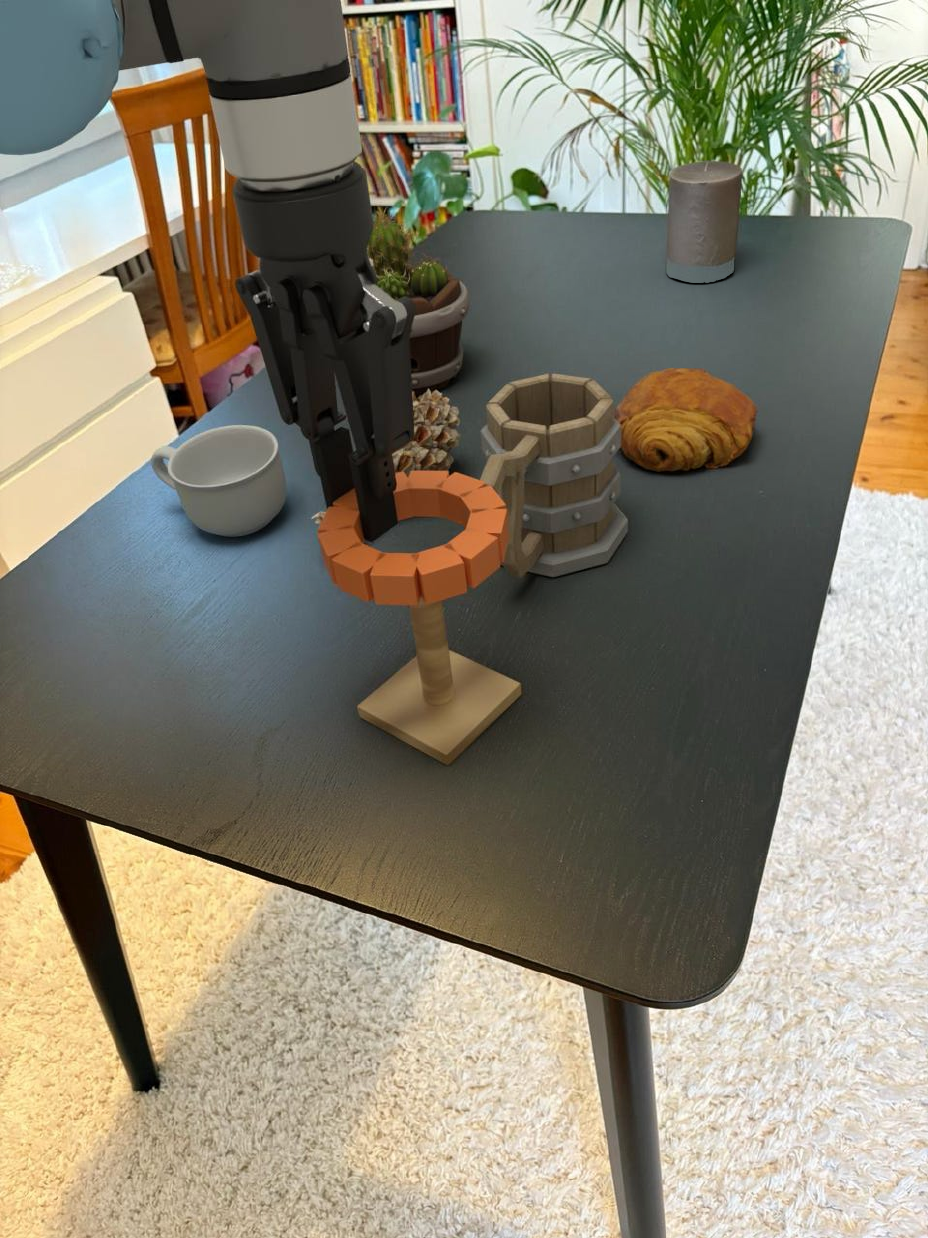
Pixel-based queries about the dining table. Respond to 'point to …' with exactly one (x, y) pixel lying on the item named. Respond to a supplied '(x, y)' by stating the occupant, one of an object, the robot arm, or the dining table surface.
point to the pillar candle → (703, 213)
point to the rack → (438, 693)
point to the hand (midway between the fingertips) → (364, 523)
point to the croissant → (684, 421)
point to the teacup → (226, 478)
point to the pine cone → (427, 437)
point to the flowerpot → (422, 304)
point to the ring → (426, 570)
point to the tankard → (555, 473)
